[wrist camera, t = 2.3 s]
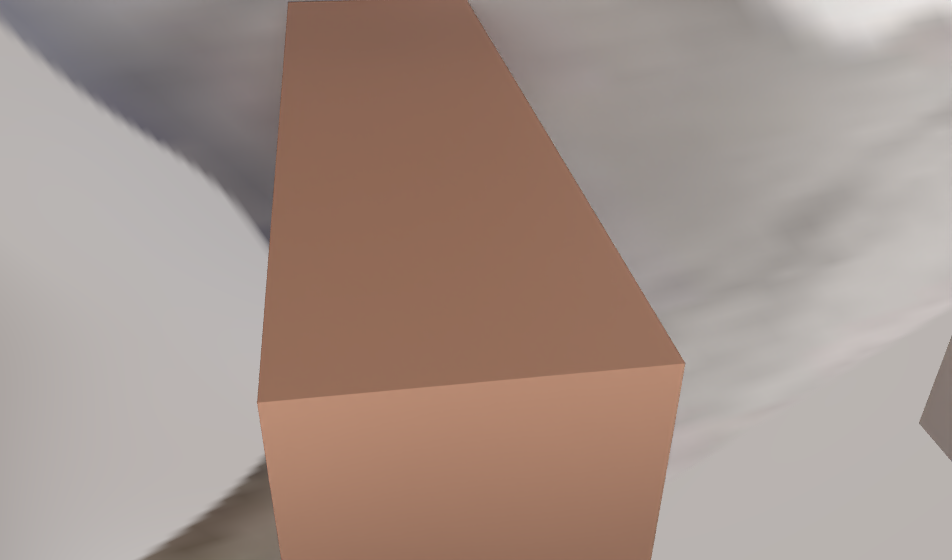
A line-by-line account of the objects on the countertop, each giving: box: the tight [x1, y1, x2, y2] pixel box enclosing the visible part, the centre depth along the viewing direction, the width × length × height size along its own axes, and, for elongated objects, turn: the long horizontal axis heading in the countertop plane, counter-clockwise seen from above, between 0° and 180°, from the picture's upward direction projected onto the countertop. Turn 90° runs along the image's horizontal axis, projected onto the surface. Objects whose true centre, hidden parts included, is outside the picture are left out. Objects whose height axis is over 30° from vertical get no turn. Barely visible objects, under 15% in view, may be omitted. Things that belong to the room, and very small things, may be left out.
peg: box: [257, 0, 685, 560], centre depth 15 cm, size 4×4×14 cm
